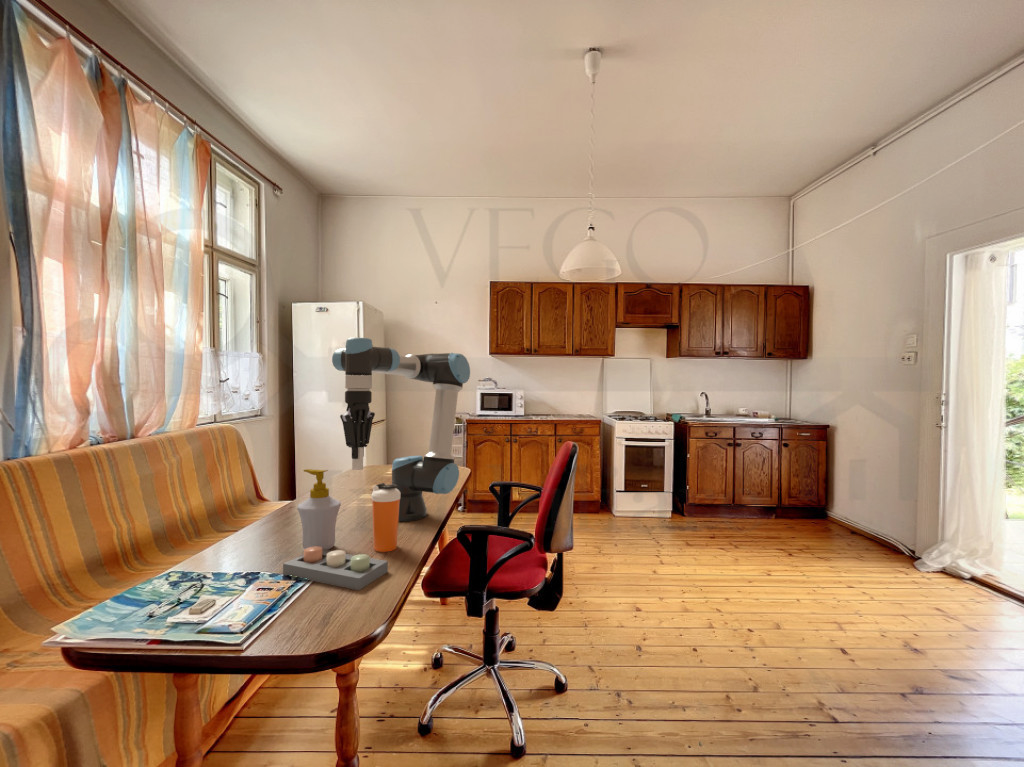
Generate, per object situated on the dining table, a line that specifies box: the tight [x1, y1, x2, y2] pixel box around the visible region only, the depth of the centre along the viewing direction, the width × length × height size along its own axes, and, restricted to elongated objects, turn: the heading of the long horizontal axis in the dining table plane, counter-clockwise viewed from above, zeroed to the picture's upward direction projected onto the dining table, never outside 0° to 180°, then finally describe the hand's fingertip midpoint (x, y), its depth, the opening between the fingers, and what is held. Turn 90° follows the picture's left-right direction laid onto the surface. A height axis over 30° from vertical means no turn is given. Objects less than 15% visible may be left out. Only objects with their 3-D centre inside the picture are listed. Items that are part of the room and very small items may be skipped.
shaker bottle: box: [370, 482, 401, 553], centre depth 144 cm, size 9×9×20 cm
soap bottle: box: [296, 468, 342, 551], centre depth 143 cm, size 13×13×25 cm
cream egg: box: [327, 549, 346, 568], centre depth 125 cm, size 5×5×4 cm
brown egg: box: [303, 546, 322, 564], centre depth 127 cm, size 5×5×4 cm
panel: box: [282, 550, 389, 591], centre depth 125 cm, size 12×25×3 cm, turn 70°
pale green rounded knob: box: [351, 553, 371, 573], centre depth 122 cm, size 5×5×4 cm
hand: (357, 469), depth 136 cm, fingers closed
